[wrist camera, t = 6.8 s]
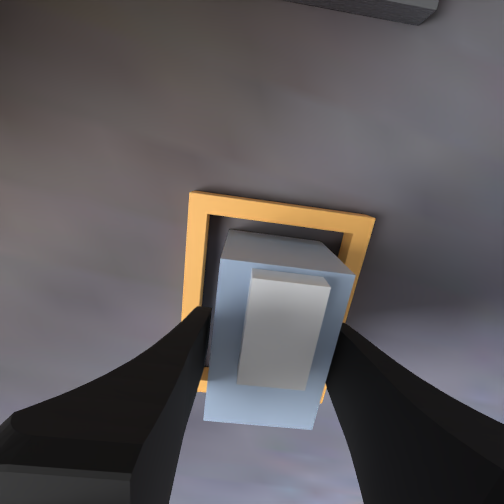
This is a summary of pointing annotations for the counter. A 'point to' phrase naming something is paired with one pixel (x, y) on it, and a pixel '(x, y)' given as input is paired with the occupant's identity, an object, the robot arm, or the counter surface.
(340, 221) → the orange picture frame
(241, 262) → the plug
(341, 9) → the open gray picture frame
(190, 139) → the counter surface
